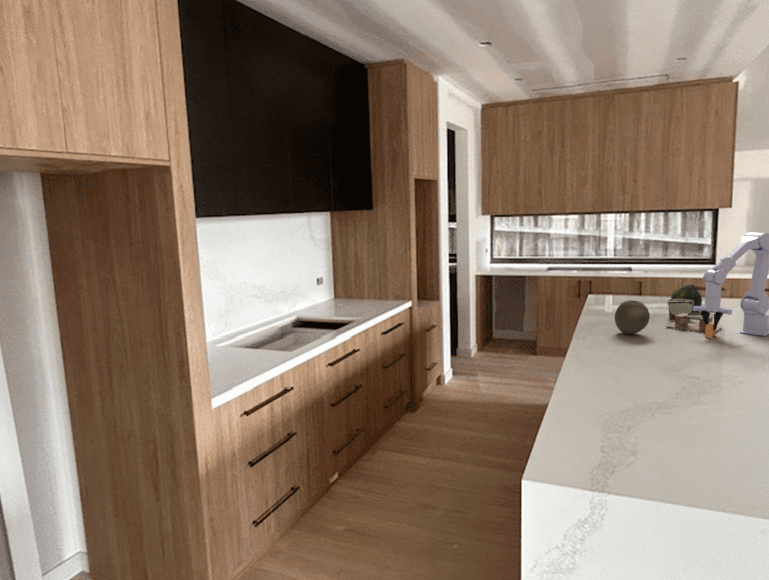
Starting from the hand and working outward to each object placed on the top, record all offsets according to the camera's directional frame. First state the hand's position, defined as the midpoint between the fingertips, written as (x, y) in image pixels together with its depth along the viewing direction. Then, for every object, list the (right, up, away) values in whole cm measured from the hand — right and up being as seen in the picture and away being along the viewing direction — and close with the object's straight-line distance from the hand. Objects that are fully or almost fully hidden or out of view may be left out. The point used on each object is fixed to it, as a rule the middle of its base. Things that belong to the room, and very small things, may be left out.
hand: (710, 329), depth 239 cm
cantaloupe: (-31, -3, +7) cm, 32 cm away
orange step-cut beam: (0, -3, 0) cm, 3 cm away
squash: (+21, +5, +59) cm, 63 cm away
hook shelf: (+1, -1, +16) cm, 16 cm away
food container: (+5, +2, +37) cm, 37 cm away
